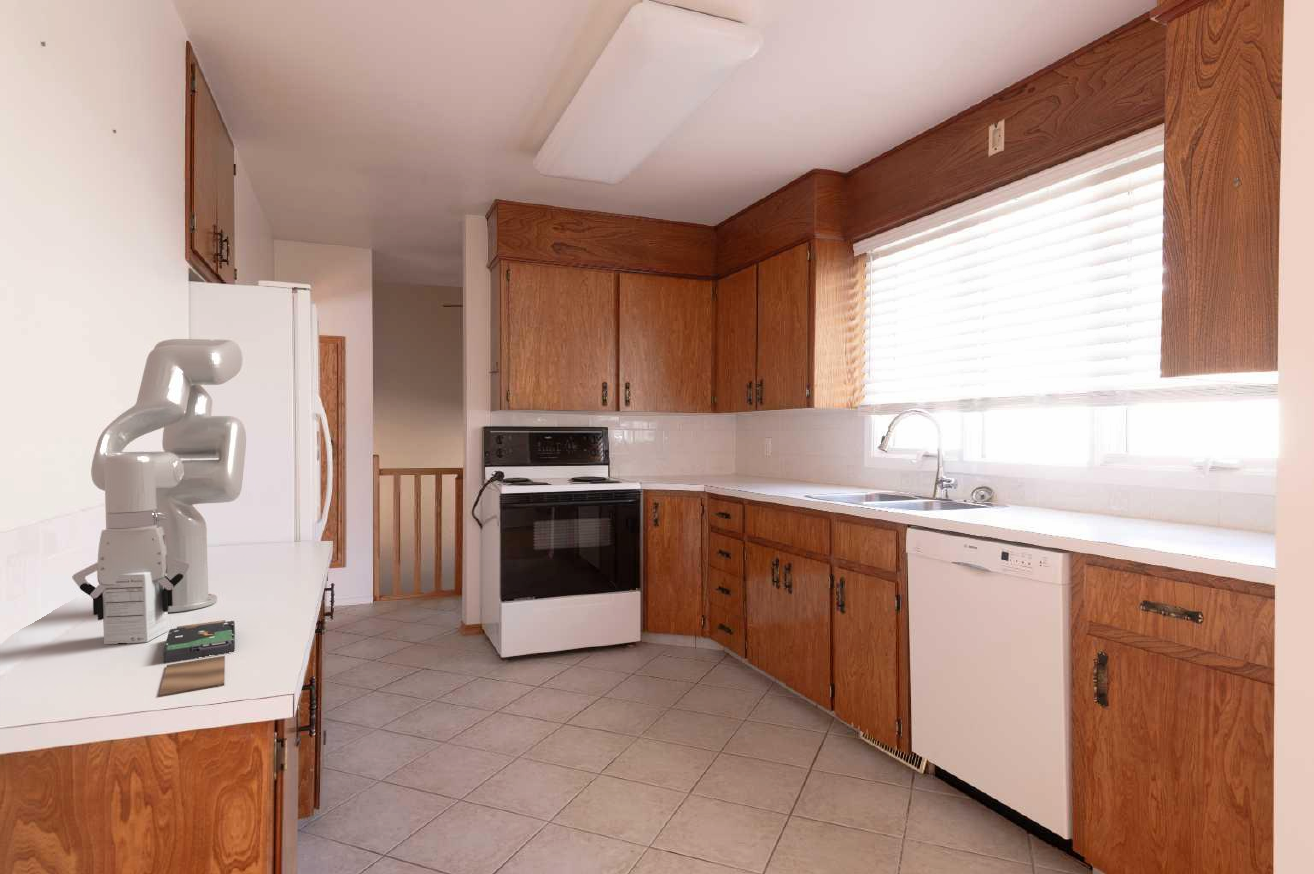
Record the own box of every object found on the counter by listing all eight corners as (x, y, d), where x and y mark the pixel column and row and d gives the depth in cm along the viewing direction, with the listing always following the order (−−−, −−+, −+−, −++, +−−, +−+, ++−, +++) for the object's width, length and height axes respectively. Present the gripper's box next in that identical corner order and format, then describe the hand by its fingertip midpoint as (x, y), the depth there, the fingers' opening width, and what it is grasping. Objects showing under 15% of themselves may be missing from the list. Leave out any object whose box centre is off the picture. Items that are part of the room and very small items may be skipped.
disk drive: (168, 644, 129) (163, 666, 116) (168, 629, 128) (162, 649, 116) (234, 634, 134) (236, 654, 121) (234, 619, 134) (236, 638, 121)
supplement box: (127, 633, 134) (125, 566, 133) (169, 631, 135) (168, 565, 134) (102, 645, 126) (100, 574, 126) (146, 642, 127) (145, 572, 127)
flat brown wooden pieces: (177, 628, 137) (176, 626, 137) (225, 621, 141) (225, 619, 141) (159, 696, 102) (159, 694, 102) (224, 685, 106) (224, 683, 106)
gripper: (189, 515, 137) (191, 603, 137) (75, 523, 128) (77, 617, 128) (187, 519, 131) (189, 611, 131) (66, 527, 122) (69, 626, 122)
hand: (134, 614), depth 129 cm, fingers closed on supplement box, 9 cm apart
